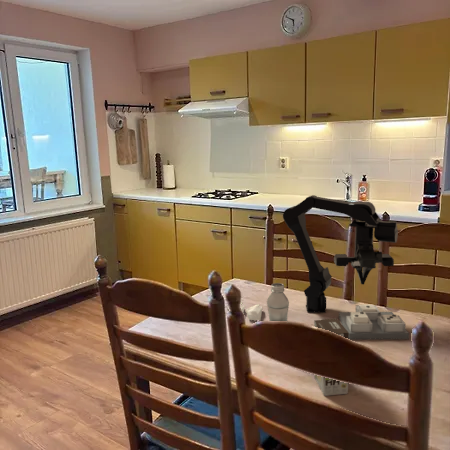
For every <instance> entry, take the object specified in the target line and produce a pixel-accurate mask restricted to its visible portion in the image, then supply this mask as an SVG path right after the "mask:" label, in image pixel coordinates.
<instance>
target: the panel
mask: <svg viewBox="0 0 450 450" xmlns="http://www.w3.org/2000/svg"><path fill="white" fill-rule="evenodd" d="M360 305H361V304H359V305H358V304H357V305H355V312H362V311H361V309H360ZM373 305H374V304H373ZM374 307H375V308H376V312H365V313H366V315H367V316H368V323H352V321H351V312H352V311H346V312H345V311H339V312H338V319H339V322H340V323H341V324H342V325H343V326H344V328H345V329H346V330H347V331H348V332H349V339H351V340H409V339H410V332H409V331H408V330H407V329H406V322H405V321H404V320H403V319H402V317H401V316H400V315H397V314H396V315H397V316H398V317H399V319H400V320H401V323H385V321H384V320H383V319H382V315H395V314H394V312H393V311H380V309H379V308H378V307H377V305H376V304H375V305H374Z"/></svg>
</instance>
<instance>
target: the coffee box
mask: <svg viewBox="0 0 450 450" xmlns="http://www.w3.org/2000/svg"><path fill="white" fill-rule="evenodd" d="M338 319H339V318H324V319H316V320H314V321H313V327H314V326H315V327H318V328H322V329H325V330H329V331H331V332H334V333H336V334H338V335H341V336H343V337H345V338H348V339H349V332H348V331H347V330H346V329H345V328H344V326H343V325H342V323H341V321H340V320H338ZM313 377H314V379H315V381H316V384H317V385H318V387H319V389H320V390H321V392H322V394H323V396H325V397H328V396H335V395H336V396H337V395H347V394H348V393H349V382H348V383H344V382H340V381H336V380H333V379H329V378H325V377H321V376H317V375H313Z"/></svg>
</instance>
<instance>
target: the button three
mask: <svg viewBox="0 0 450 450" xmlns="http://www.w3.org/2000/svg"><path fill="white" fill-rule="evenodd" d="M382 319H383V320H384V321H385V323H401V320H400V319H399V317H398V316H397V314H394V315H382Z"/></svg>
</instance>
